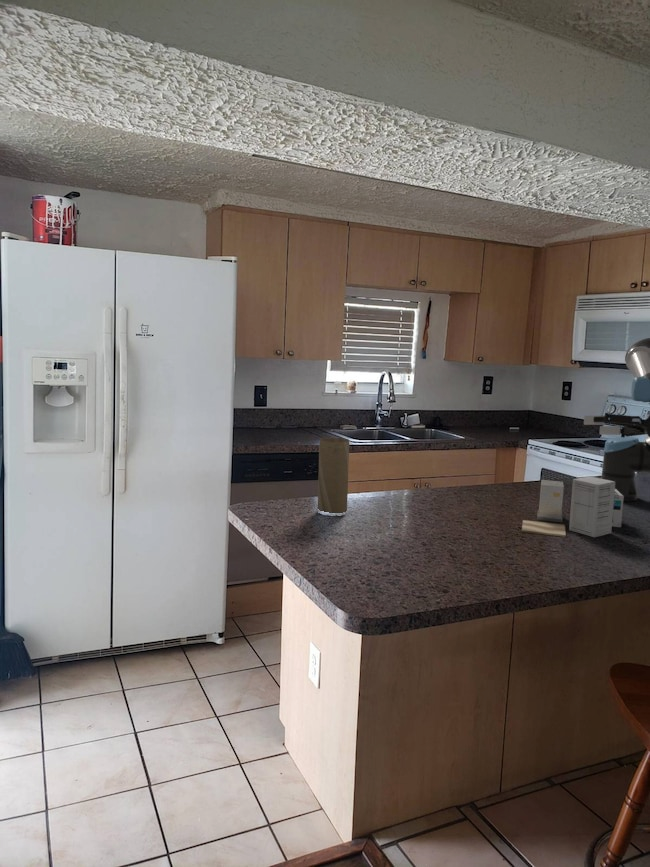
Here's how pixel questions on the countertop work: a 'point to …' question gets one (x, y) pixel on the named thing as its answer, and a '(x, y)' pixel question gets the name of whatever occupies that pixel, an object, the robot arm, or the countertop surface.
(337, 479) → the tube
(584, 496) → the supplement box
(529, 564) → the countertop surface
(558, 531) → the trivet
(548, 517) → the unit
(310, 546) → the countertop surface
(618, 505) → the light bulb box
